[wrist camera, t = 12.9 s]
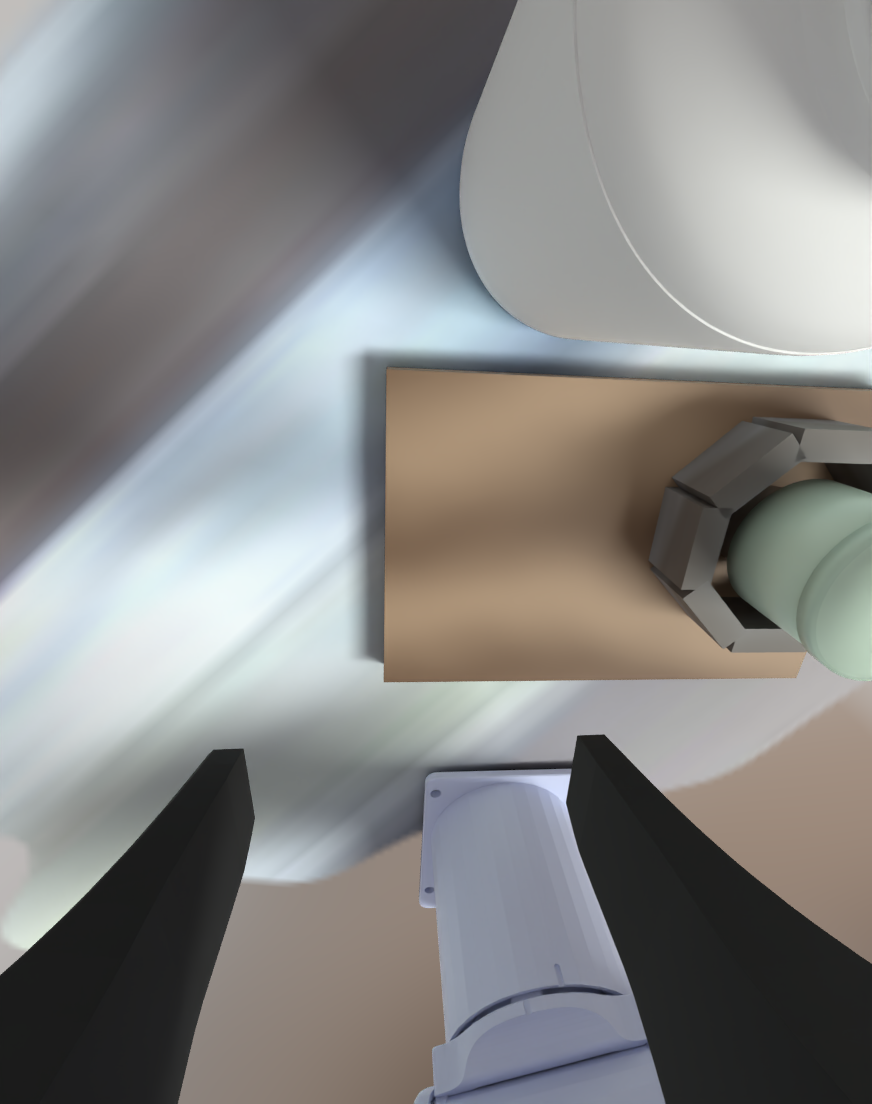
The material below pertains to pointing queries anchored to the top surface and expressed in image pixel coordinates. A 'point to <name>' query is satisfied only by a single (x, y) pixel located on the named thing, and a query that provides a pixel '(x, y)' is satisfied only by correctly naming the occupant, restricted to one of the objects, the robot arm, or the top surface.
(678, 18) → the pill bottle
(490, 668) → the stud board
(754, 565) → the cap
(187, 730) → the top surface
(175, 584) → the top surface
